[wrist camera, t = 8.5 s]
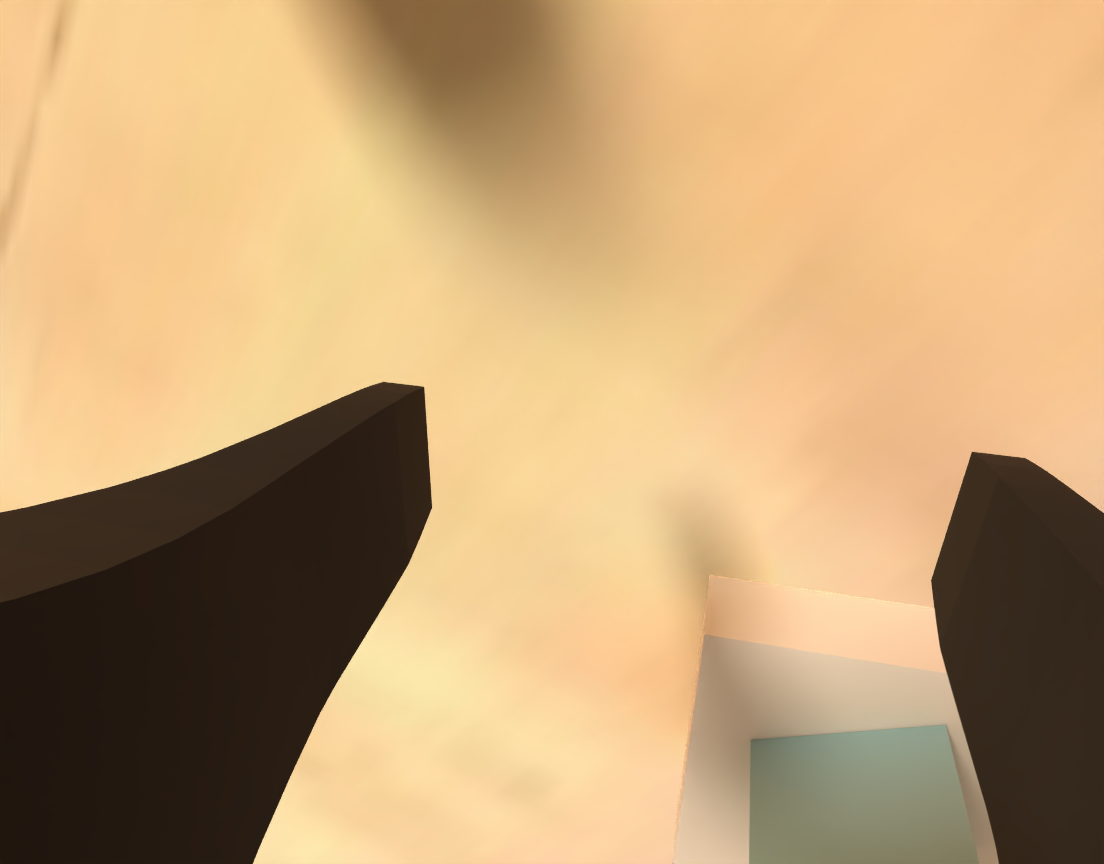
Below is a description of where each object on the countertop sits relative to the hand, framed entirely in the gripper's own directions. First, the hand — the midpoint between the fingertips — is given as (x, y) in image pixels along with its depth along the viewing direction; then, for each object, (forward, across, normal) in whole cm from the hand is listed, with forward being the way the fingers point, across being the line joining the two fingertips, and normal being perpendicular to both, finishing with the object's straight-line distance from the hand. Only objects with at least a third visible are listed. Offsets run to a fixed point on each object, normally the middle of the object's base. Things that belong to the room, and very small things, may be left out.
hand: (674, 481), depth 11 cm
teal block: (+7, -6, +14) cm, 17 cm away
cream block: (+10, -6, +14) cm, 18 cm away
